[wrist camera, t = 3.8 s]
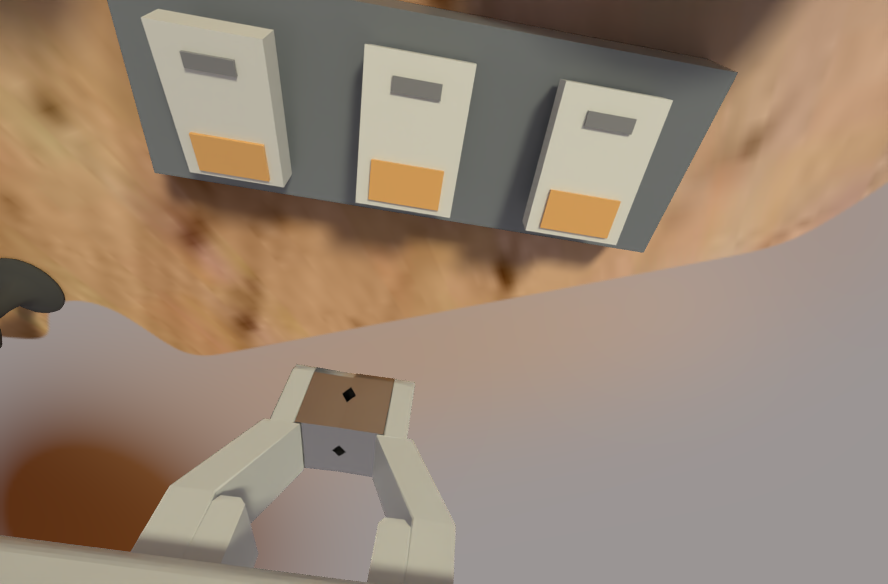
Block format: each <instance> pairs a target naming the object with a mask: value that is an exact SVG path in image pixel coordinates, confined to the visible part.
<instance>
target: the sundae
mask: <svg viewBox="0 0 888 584" xmlns="http://www.w3.org/2000/svg"><path fill="white" fill-rule="evenodd" d="M63 305H64V295H63V292H62V290H61V288H60V287H59V286H58V284H57V283H56V282H55V281H54V280H53V279H52V278H51V277H50V276H49V275H47V274H46V273H45V272H43V271H42V270H40V269H38V268H37V267H35V266H33V265H31V264H28V263H26V262H23V261H20V260H16V259H8V258H0V318H2V317H3V316H4V315H5V314H6V313H8V312H9V311H11V310H12V309H14V308H16V307H18V306H21V307H23V308H26V309H29V310H32V311H35V312H42V313H50V312H55V311H58V310H60V309H61V308H62V307H63ZM1 347H2V334H1V329H0V348H1Z"/></svg>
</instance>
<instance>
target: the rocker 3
mask: <svg viewBox="0 0 888 584" xmlns="http://www.w3.org/2000/svg"><path fill="white" fill-rule="evenodd" d="M672 102H673V100H670V99H666V98H662V97H658V96H652V95H647V94H641V93H636V92H630V91H625V90H619V89H614V88H608V87H603V86H598V85H592V84H587V83H581V82H576V81H570V80H565V79H560V81H559V85H558V89H557V93H556V96H555V100H554V104H553V108H552V111H551V115H550V119H549V123H548V127H547V130H546V134H545V138H544V142H543V145H542V149H541V153H540V157H539V160H538V164H537V168H536V172H535V175H534V179H533V183H532V187H531V190H530V194H529V198H528V202H527V205H526V209H525V213H524V217H523V220H522V222H523V225H524V228H525V230H526V231H532V232H538V233H544V234H551V235H557V236H563V237H569V238H575V239H581V240H587V241H593V242H599V243H605V244H612V245H616V244H617V242H618V239H619V237H620V234H621V231H622V229H623V226H624V224H625V221H626V219H627V216H628V214H629V211H630V209H631V206H632V204H633V201H634V198H635V196H636V193H637V191H638V188H639V186H640V183H641V181H642V178H643V176H644V173H645V171H646V168H647V166H648V163H649V160H650V158H651V155H652V153H653V150H654V148H655V145H656V143H657V140H658V138H659V135H660V133H661V130H662V127H663V125H664V122H665V120H666V117H667V115H668V112H669V110H670V107H671V105H672Z"/></svg>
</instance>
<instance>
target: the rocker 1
mask: <svg viewBox="0 0 888 584" xmlns="http://www.w3.org/2000/svg"><path fill="white" fill-rule="evenodd" d="M141 20H142V23H143V26H144V30H145V33H146V36H147V39H148V42H149V45H150V48H151V52H152V55H153V58H154V61H155V64H156V67H157V70H158V73H159V77H160V80H161V83H162V86H163V89H164V92H165V95H166V99H167V102H168V105H169V108H170V111H171V114H172V117H173V121H174V124H175V127H176V130H177V133H178V136H179V139H180V142H181V146H182V149H183V152H184V155H185V158H186V161H187V164H188V168H189V171H190V172H192V173H199V174H205V175H211V176H217V177H223V178H229V179H235V180H241V181H247V182H253V183H259V184H266V185H272V186H278V187H285V185H286V183H287V182H288V180H289V178H290V177H291V175H292V170H291V162H290V155H289V147H288V139H287V131H286V123H285V115H284V107H283V99H282V91H281V83H280V75H279V67H278V59H277V52H276V44H275V36H274V30H272V29H266V28H261V27H255V26H250V25H244V24H239V23H233V22H228V21H222V20H217V19H212V18H206V17H201V16H195V15H190V14H184V13H179V12H173V11H168V10H162V9H157V10H155V11H153V12H151V13H149V14H146V15H144V16H142V17H141Z"/></svg>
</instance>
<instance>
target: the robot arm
mask: <svg viewBox="0 0 888 584" xmlns="http://www.w3.org/2000/svg"><path fill="white" fill-rule="evenodd" d="M414 388H415V382H410V381H404V380H397V379H393V378H385V377H378V376H371V375H363V374H352V373H346V372H340V371H335V370H328V369H323V368H318V367H311V366H305V365H298V364H297V365H296V366H295V367H294V368H293V370H292V372H291V374H290V376H289V378H288V380H287V383H286V385H285V387H284V389H283V391H282V394H281V396H280V398H279V400H278V403H277V405H276V407H275V409H274V411H273V413H272V415H271V418H270V419H265V418H264V419H262V420H261V421H259V422H258V423H257V424H255V425H254V426H252V427H251V428H250V429H248V430H247V431H245V432H244V433H243V434H241V435H240V436H238V437H237V438H236V439H234V440H233V441H232V442H230V443H229V444H227V445H226V446H225V447H223V448H222V449H220V450H219V451H218V452H216V453H215V454H213V455H212V456H211V457H209V458H208V459H206V460H205V461H204V462H202V463H201V464H200V465H198V466H197V467H195V468H194V469H193V470H191V471H190V472H188V473H187V474H186V475H184V476H183V477H181V478H180V479H179V480H177V481H176V482H175V483H173V484H172V485H170V486H169V488H168V490H167V491H166V493H165V495H164V496H163V498H162V500H161V502H160V503H159V505H158V507H157V508H156V510H155V512H154V513H153V515H152V517H151V518H150V520H149V522H148V523H147V525H146V527H145V528H144V530H143V532H142V534H141V536H140V537H139V539H138V540H137V542H136V544H135V545H134V547H133V549H132V550H131V552H125V551H118V550H110V549H101V548H94V547H86V546H79V545H71V544H62V543H55V542H47V541H40V540H32V539H24V538H16V537H8V536H1V535H0V584H453V578H454V552H455V526H456V525H455V523H454V521H453V519H452V517H451V515H450V513H449V511H448V510H447V507H446V506H445V503H444V501H443V499H442V497H441V495H440V493H439V491H438V489H437V487H436V485H435V483H434V481H433V479H432V477H431V475H430V473H429V471H428V469H427V467H426V465H425V463H424V461H423V459H422V457H421V455H420V453H419V451H418V449H417V447H416V445H415V443H414V441H413V440H411V439H407V435H408V428H409V421H410V415H411V408H412V401H413V394H414ZM304 468H314V469H322V470H331V471H340V472H346V473H351V474H357V475H363V476H369V477H373V481H374V484H375V487H376V490H377V493H378V496H379V499H380V501H381V505H382V508H383V511H384V513H385V516H386V517H385V518H384V519H382V520H381V521H380V522H379V523H378V528H377V533H376V538H375V543H374V549H373V554H372V559H371V565H370V569H369V575H368V580H367V582H359V581H351V580H342V579H336V578H327V577H320V576H311V575H304V574H296V573H289V572H281V571H273V570H266V569H257V568H254V565H255V562H256V559H257V556H258V551H257V547H256V543H255V539H254V536H253V532H252V528H251V523H252V521H254V520H255V519H256V518H257V517H258V516H259V515H260V514H261V513H262V512H263V511H264V509H266V508H267V506H269V505H270V504H271V503H272V502H273V500H274V499H275V498H276V497H277V496H279V494H281V492H283V490H284V489H285V488H286V487H287V486H288V485H289V484H290V483H291V482H292V481H293V480H294V479H295V478H296V477H297V476H298V475H299V474H300V473H301V472H302V471H303V470H304Z"/></svg>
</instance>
